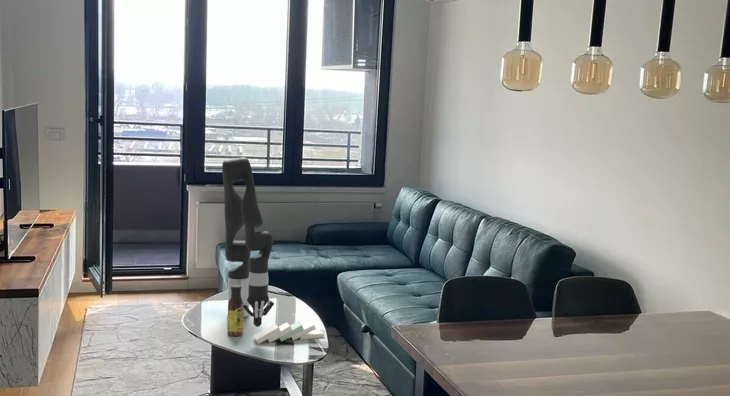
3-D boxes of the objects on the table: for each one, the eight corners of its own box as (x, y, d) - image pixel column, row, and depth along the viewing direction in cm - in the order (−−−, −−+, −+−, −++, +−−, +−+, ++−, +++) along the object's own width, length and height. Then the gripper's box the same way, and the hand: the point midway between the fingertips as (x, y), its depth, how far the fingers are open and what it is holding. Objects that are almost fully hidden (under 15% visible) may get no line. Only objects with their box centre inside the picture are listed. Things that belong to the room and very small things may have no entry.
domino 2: (264, 334, 274) (286, 322, 277) (266, 338, 275) (288, 326, 278) (267, 338, 270) (290, 325, 273) (269, 342, 270) (292, 330, 273)
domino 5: (296, 332, 280) (319, 329, 284) (296, 336, 280) (319, 334, 284) (300, 336, 275) (324, 333, 279) (300, 340, 276) (323, 338, 280)
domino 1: (252, 335, 272) (275, 323, 275) (254, 340, 273) (277, 327, 276) (256, 339, 268) (278, 327, 271) (258, 344, 268) (280, 331, 271)
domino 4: (288, 331, 278) (311, 320, 280) (290, 335, 279) (312, 324, 281) (291, 336, 273) (314, 324, 275) (293, 340, 274) (315, 329, 276)
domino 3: (276, 333, 276) (298, 321, 279) (278, 337, 277) (300, 325, 280) (279, 337, 272) (301, 325, 274) (281, 341, 272) (303, 329, 275)
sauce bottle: (239, 337, 275) (240, 288, 272) (224, 335, 276) (225, 287, 274) (245, 332, 281) (246, 284, 279) (231, 330, 283) (231, 283, 280)
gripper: (244, 286, 261) (243, 330, 263) (277, 283, 267) (276, 327, 269) (238, 281, 268) (238, 325, 270) (271, 279, 274) (270, 321, 276)
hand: (257, 326), depth 270 cm, fingers closed
